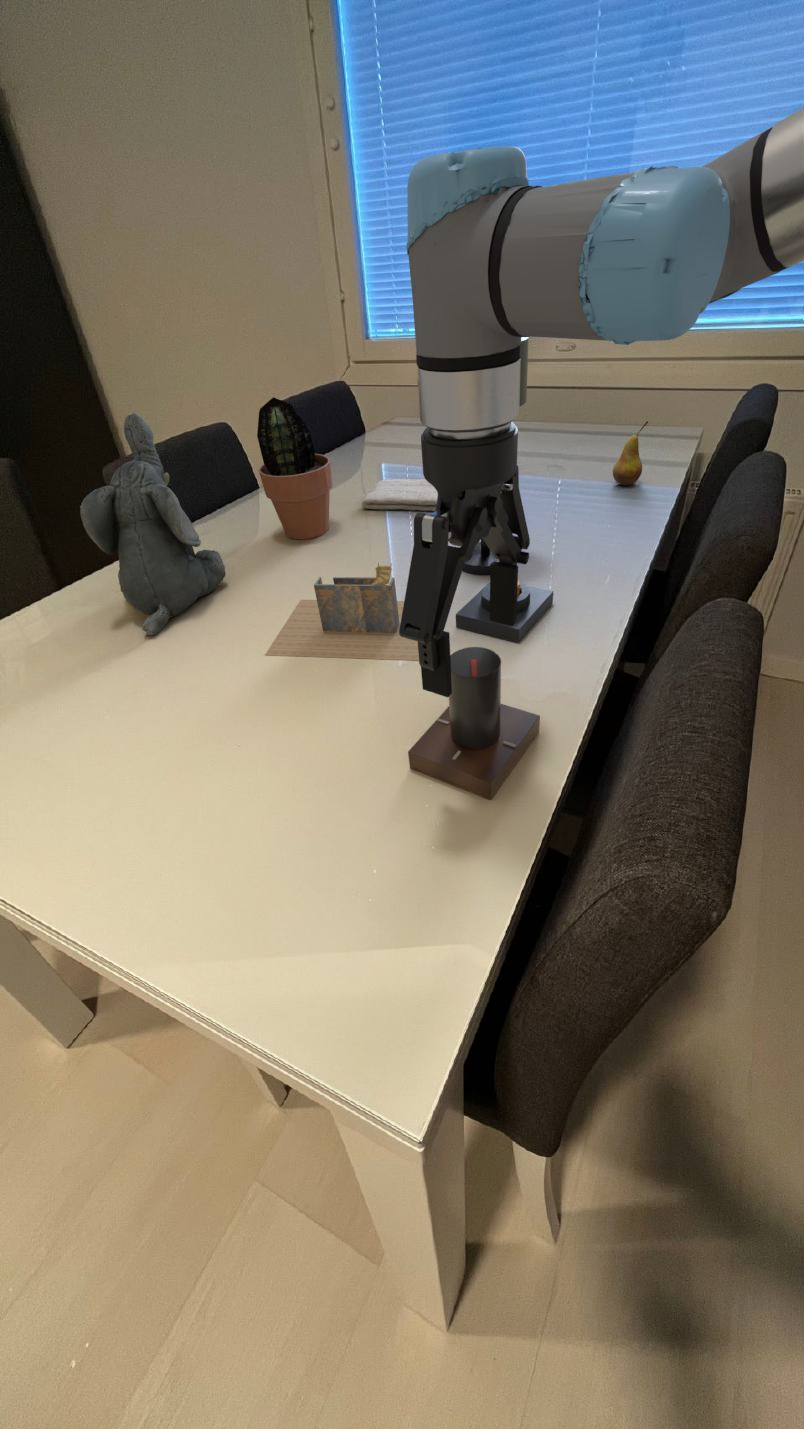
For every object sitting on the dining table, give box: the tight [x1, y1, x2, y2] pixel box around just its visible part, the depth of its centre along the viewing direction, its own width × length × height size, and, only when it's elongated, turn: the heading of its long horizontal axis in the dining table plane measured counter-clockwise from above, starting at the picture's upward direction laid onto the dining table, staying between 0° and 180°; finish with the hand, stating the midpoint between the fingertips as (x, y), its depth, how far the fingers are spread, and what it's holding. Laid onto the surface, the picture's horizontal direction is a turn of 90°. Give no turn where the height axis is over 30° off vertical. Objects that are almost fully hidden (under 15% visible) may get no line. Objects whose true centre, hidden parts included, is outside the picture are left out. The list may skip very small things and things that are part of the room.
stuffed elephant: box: [79, 412, 226, 637], centre depth 96 cm, size 19×21×27 cm
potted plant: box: [256, 396, 334, 540], centre depth 115 cm, size 14×14×25 cm
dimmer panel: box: [407, 703, 541, 801], centre depth 67 cm, size 10×12×3 cm
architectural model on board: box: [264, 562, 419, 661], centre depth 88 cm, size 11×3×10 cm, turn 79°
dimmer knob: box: [448, 646, 502, 749], centre depth 63 cm, size 5×5×10 cm
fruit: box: [612, 420, 649, 486], centre depth 123 cm, size 6×6×12 cm
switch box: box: [455, 581, 555, 644], centre depth 88 cm, size 10×12×4 cm
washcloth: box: [361, 478, 438, 512], centre depth 129 cm, size 12×18×3 cm, turn 74°
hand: (472, 654), depth 60 cm, fingers open, 13 cm apart
